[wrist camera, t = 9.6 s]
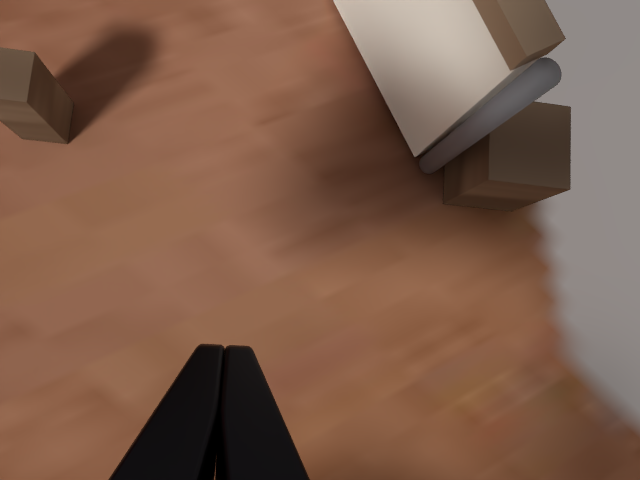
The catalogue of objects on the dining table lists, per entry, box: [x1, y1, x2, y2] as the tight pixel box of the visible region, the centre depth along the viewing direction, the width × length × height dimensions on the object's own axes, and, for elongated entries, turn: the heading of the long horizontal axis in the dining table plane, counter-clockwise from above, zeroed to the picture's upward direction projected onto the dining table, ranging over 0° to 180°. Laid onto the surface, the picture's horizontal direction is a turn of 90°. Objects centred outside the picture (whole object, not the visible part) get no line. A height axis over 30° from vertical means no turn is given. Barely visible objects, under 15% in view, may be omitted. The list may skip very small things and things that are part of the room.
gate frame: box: [0, 47, 571, 211], centre depth 19 cm, size 3×19×4 cm, turn 85°
